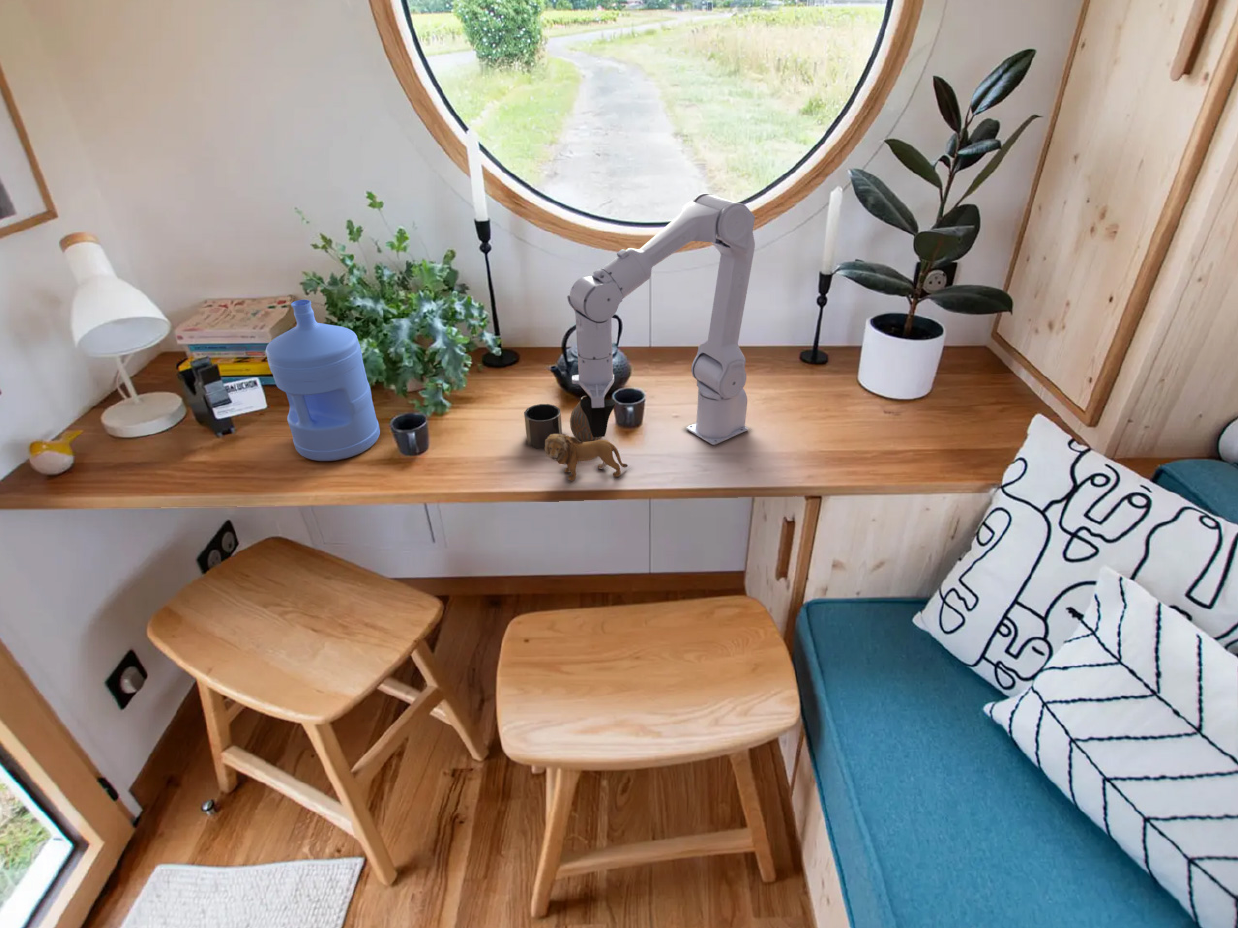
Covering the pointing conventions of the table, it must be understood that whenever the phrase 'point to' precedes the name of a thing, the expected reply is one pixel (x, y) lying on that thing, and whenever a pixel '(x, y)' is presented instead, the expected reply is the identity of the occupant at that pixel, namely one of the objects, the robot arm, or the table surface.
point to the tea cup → (541, 424)
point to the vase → (581, 425)
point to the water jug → (323, 387)
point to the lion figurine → (581, 453)
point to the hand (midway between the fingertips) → (597, 424)
